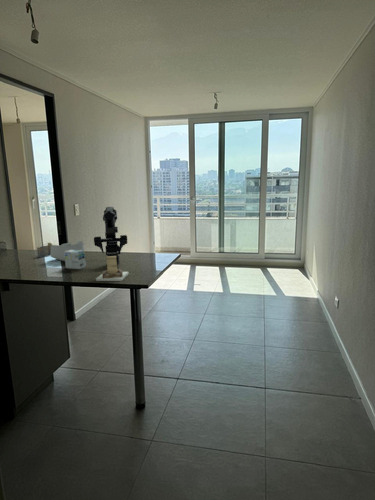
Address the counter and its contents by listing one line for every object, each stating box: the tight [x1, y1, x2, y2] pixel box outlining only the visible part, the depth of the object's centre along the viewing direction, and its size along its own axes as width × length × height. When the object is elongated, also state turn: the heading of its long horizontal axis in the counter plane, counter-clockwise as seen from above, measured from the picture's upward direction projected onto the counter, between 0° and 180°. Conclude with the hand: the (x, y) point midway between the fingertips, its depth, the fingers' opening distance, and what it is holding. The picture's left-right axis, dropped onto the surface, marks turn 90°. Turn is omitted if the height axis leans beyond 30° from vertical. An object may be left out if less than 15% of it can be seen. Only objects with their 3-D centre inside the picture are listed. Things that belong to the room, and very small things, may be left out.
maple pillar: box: [106, 255, 118, 275], centre depth 180 cm, size 5×5×10 cm
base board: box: [95, 271, 130, 282], centre depth 181 cm, size 14×14×1 cm
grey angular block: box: [49, 240, 85, 262], centre depth 228 cm, size 20×19×12 cm
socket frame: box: [102, 269, 123, 278], centre depth 181 cm, size 10×10×2 cm
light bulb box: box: [64, 249, 87, 270], centre depth 204 cm, size 11×7×11 cm, turn 71°
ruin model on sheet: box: [36, 242, 53, 258], centre depth 243 cm, size 11×3×10 cm, turn 149°
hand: (111, 252), depth 185 cm, fingers open, 9 cm apart
